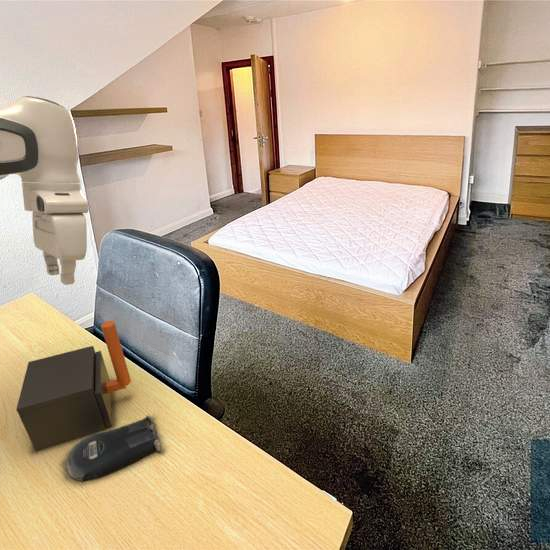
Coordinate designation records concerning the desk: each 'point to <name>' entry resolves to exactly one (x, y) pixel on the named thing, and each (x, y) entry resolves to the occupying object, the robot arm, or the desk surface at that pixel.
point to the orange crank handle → (101, 377)
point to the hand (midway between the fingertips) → (60, 279)
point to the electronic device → (112, 450)
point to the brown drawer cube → (60, 399)
